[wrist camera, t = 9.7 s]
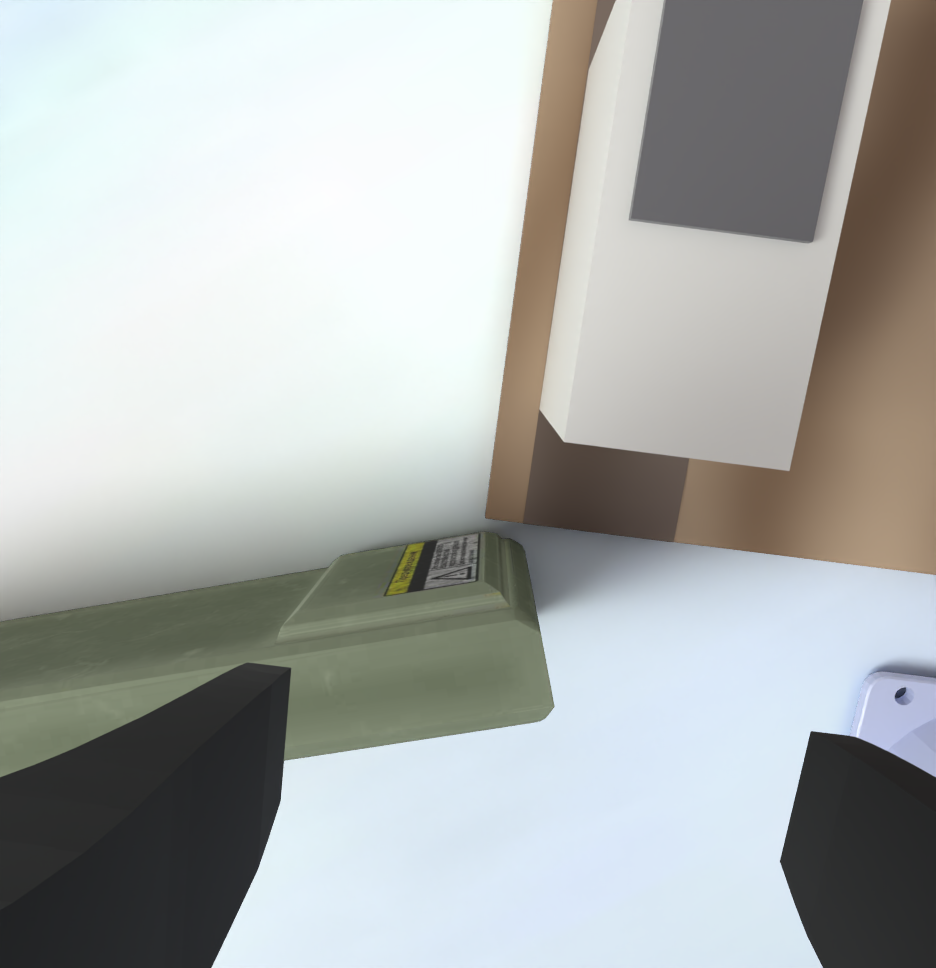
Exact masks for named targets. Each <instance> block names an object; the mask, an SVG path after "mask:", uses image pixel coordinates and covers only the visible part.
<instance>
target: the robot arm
mask: <svg viewBox="0 0 936 968" xmlns="http://www.w3.org/2000/svg"><path fill="white" fill-rule="evenodd" d="M290 678H291V668H290V667H281V666H273V665H265V664H257V663H249V662H247V663H245V664H242V665H240V666H237V667H235V668H233V669H231V670H229V671H227V672H225V673H223V674H221V675H219V676H218V677H216V678H214V679H212V680H210V681H208V682H206V683H205V684H203V685H201V686H199V687H197V688H195V689H193V690H192V691H190V692H188V693H186V694H184V695H182V696H180V697H178V698H176V699H175V700H173V701H171V702H169V703H167V704H165V705H163V706H161V707H159V708H157V709H156V710H154V711H152V712H150V713H148V714H146V715H144V716H142V717H140V718H138V719H136V720H133V721H131V722H129V723H127V724H125V725H123V726H121V727H119V728H116V729H114V730H112V731H110V732H108V733H106V734H104V735H102V736H99V737H97V738H95V739H93V740H91V741H89V742H87V743H84V744H82V745H80V746H78V747H76V748H74V749H71V750H69V751H67V752H64V753H62V754H59V755H57V756H55V757H52V758H50V759H47V760H45V761H42V762H40V763H37V764H35V765H32V766H29V767H27V768H24V769H21V770H18V771H16V772H13V773H10V774H8V775H5V776H2V777H0V968H211V967H212V965H213V963H214V961H215V959H216V957H217V955H218V953H219V951H220V949H221V946H222V944H223V942H224V940H225V938H226V936H227V934H228V932H229V930H230V928H231V926H232V923H233V921H234V919H235V917H236V915H237V913H238V911H239V909H240V906H241V904H242V902H243V900H244V898H245V896H246V894H247V892H248V889H249V887H250V885H251V883H252V881H253V879H254V876H255V874H256V872H257V870H258V867H259V864H260V861H261V859H262V856H263V853H264V850H265V847H266V844H267V841H268V838H269V835H270V832H271V829H272V826H273V823H274V820H275V816H276V813H277V810H278V807H279V804H280V801H281V789H282V777H283V764H284V752H285V740H286V727H287V715H288V703H289V691H290ZM905 687H906V692H905V693H904V695H903V696H901V697H900V698H895V694H896V692H897V690H899V689H901V688H905ZM780 863H781V865H782V868H783V871H784V874H785V877H786V880H787V883H788V886H789V889H790V892H791V894H792V897H793V900H794V903H795V906H796V908H797V911H798V913H799V916H800V918H801V921H802V924H803V926H804V929H805V931H806V934H807V936H808V938H809V940H810V942H811V944H812V946H813V948H814V950H815V952H816V954H817V956H818V958H819V960H820V962H821V964H822V966H823V968H936V678H932V677H924V676H916V675H908V674H900V673H892V672H875V673H873V674H871V675H869V676H868V677H867V678H866V679H865V680H864V682H863V684H862V687H861V691H860V695H859V699H858V703H857V707H856V711H855V716H854V720H853V724H852V728H851V732H850V736H845V735H837V734H829V733H821V732H813V731H811V733H810V737H809V741H808V746H807V750H806V754H805V758H804V763H803V767H802V771H801V775H800V779H799V784H798V788H797V792H796V796H795V801H794V805H793V809H792V813H791V817H790V822H789V826H788V830H787V834H786V838H785V843H784V847H783V851H782V855H781V860H780Z"/></svg>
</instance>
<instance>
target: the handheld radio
mask: <svg viewBox="0 0 936 968" xmlns="http://www.w3.org/2000/svg"><path fill="white" fill-rule="evenodd" d="M247 662H249V663H257V664H265V665H273V666H281V667H290V668H291V678H290V691H289V703H288V715H287V727H286V740H285V752H284V761H285V760H291V759H298V758H305V757H311V756H318V755H324V754H331V753H337V752H344V751H351V750H357V749H364V748H370V747H377V746H383V745H390V744H396V743H403V742H410V741H416V740H423V739H429V738H436V737H442V736H449V735H456V734H462V733H469V732H475V731H482V730H488V729H495V728H502V727H508V726H515V725H521V724H528V723H534V722H538V721H541V720H543V719H545V718H546V717H547V716H548V714H549V713H550V712H551V711H552V709H553V708H554V702H553V697H552V691H551V686H550V680H549V675H548V670H547V664H546V659H545V654H544V648H543V643H542V638H541V632H540V627H539V622H538V617H537V612H536V606H535V601H534V596H533V591H532V586H531V580H530V575H529V570H528V565H527V560H526V555H525V551H524V549H523V547H522V545H520V544H519V543H517V542H516V541H514V540H512V539H501V538H500V536H499V535H498V534H496V533H491V532H479V533H473V534H467V535H461V536H455V537H449V538H443V539H437V540H430V541H424V542H418V543H412V544H406V545H400V546H394V547H388V548H382V549H376V550H370V551H364V552H358V553H352V554H346V555H341V556H340V557H338V558H337V559H336V560H334V561H333V563H332V564H331V565H330V566H329V568H323V569H317V570H311V571H305V572H299V573H292V574H286V575H280V576H274V577H268V578H262V579H256V580H250V581H244V582H238V583H232V584H226V585H220V586H214V587H208V588H202V589H196V590H189V591H183V592H177V593H171V594H165V595H159V596H153V597H147V598H141V599H135V600H129V601H123V602H117V603H111V604H105V605H99V606H93V607H86V608H80V609H74V610H68V611H62V612H56V613H50V614H44V615H38V616H32V617H26V618H20V619H14V620H8V621H2V622H0V777H2V776H5V775H8V774H10V773H13V772H16V771H18V770H21V769H24V768H27V767H29V766H32V765H35V764H37V763H40V762H42V761H45V760H47V759H50V758H52V757H55V756H57V755H59V754H62V753H64V752H67V751H69V750H71V749H74V748H76V747H78V746H80V745H82V744H84V743H87V742H89V741H91V740H93V739H95V738H97V737H99V736H102V735H104V734H106V733H108V732H110V731H112V730H114V729H116V728H119V727H121V726H123V725H125V724H127V723H129V722H131V721H133V720H136V719H138V718H140V717H142V716H144V715H146V714H148V713H150V712H152V711H154V710H156V709H157V708H159V707H161V706H163V705H165V704H167V703H169V702H171V701H173V700H175V699H176V698H178V697H180V696H182V695H184V694H186V693H188V692H190V691H192V690H193V689H195V688H197V687H199V686H201V685H203V684H205V683H206V682H208V681H210V680H212V679H214V678H216V677H218V676H219V675H221V674H223V673H225V672H227V671H229V670H231V669H233V668H235V667H237V666H240V665H242V664H245V663H247Z"/></svg>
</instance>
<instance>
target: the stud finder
mask: <svg viewBox="0 0 936 968" xmlns="http://www.w3.org/2000/svg"><path fill="white" fill-rule="evenodd" d="M890 2H891V0H616V1H615V3H614V6H613V9H612V11H611V14H610V16H609V19H608V21H607V24H606V27H605V29H604V32H603V34H602V37H601V39H600V42H599V45H598V47H597V50H596V52H595V55H594V57H593V60H592V63H591V65H590V68H589V71H588V78H587V85H586V91H585V98H584V105H583V112H582V119H581V126H580V133H579V140H578V146H577V153H576V160H575V167H574V174H573V181H572V188H571V195H570V201H569V208H568V215H567V222H566V229H565V236H564V243H563V250H562V257H561V263H560V270H559V277H558V284H557V291H556V298H555V305H554V312H553V318H552V325H551V332H550V339H549V346H548V353H547V360H546V367H545V373H544V380H543V387H542V394H541V401H540V408H539V409H540V411H541V412H542V413H543V415H544V416H545V417H546V419H547V420H548V421H549V423H550V424H551V425H552V427H553V428H554V429H555V431H556V432H557V433H558V435H559V436H560V437H561V439H562V440H563V441H564V442H568V443H575V444H583V445H591V446H599V447H606V448H614V449H622V450H630V451H638V452H645V453H653V454H661V455H669V456H676V457H684V458H692V459H700V460H708V461H715V462H723V463H731V464H739V465H746V466H754V467H762V468H770V469H778V470H785V471H789V470H790V466H791V461H792V456H793V452H794V447H795V442H796V438H797V433H798V429H799V424H800V419H801V415H802V410H803V405H804V401H805V396H806V392H807V387H808V382H809V378H810V373H811V368H812V364H813V359H814V354H815V350H816V345H817V341H818V336H819V331H820V327H821V322H822V317H823V313H824V308H825V304H826V299H827V294H828V290H829V285H830V280H831V276H832V271H833V266H834V262H835V257H836V253H837V248H838V243H839V239H840V234H841V229H842V225H843V220H844V216H845V211H846V206H847V202H848V197H849V192H850V188H851V183H852V178H853V174H854V169H855V165H856V160H857V155H858V151H859V146H860V141H861V137H862V132H863V128H864V123H865V118H866V114H867V109H868V104H869V100H870V95H871V90H872V86H873V81H874V77H875V72H876V67H877V63H878V58H879V53H880V49H881V44H882V40H883V35H884V30H885V26H886V21H887V16H888V12H889V7H890Z"/></svg>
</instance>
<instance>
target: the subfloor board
mask: <svg viewBox="0 0 936 968" xmlns="http://www.w3.org/2000/svg"><path fill="white" fill-rule="evenodd" d="M615 1H616V0H553V3H552V11H551V18H550V26H549V34H548V41H547V49H546V56H545V64H544V72H543V79H542V87H541V94H540V102H539V110H538V117H537V125H536V132H535V140H534V148H533V155H532V163H531V170H530V178H529V185H528V193H527V201H526V208H525V216H524V223H523V231H522V239H521V246H520V254H519V261H518V269H517V277H516V284H515V292H514V299H513V307H512V314H511V322H510V330H509V337H508V345H507V352H506V360H505V368H504V375H503V383H502V390H501V398H500V406H499V413H498V421H497V428H496V436H495V443H494V451H493V459H492V466H491V474H490V481H489V489H488V497H487V504H486V512H485V518H487V519H494V520H502V521H510V522H518V523H523V524H531V525H539V526H547V527H555V528H563V529H571V530H579V531H587V532H595V533H603V534H611V535H619V536H627V537H635V538H643V539H651V540H659V541H667V542H678V543H686V544H694V545H702V546H710V547H718V548H726V549H734V550H742V551H750V552H758V553H766V554H774V555H781V556H789V557H797V558H805V559H813V560H821V561H829V562H837V563H845V564H853V565H861V566H869V567H877V568H885V569H893V570H901V571H909V572H917V573H925V574H933V575H936V0H891V2H890V7H889V12H888V16H887V21H886V26H885V30H884V35H883V40H882V44H881V49H880V53H879V58H878V63H877V67H876V72H875V77H874V81H873V86H872V90H871V95H870V100H869V104H868V109H867V114H866V118H865V123H864V128H863V132H862V137H861V141H860V146H859V151H858V155H857V160H856V165H855V169H854V174H853V178H852V183H851V188H850V192H849V197H848V202H847V206H846V211H845V216H844V220H843V225H842V229H841V234H840V239H839V243H838V248H837V253H836V257H835V262H834V266H833V271H832V276H831V280H830V285H829V290H828V294H827V299H826V304H825V308H824V313H823V317H822V322H821V327H820V331H819V336H818V341H817V345H816V350H815V354H814V359H813V364H812V368H811V373H810V378H809V382H808V387H807V392H806V396H805V401H804V405H803V410H802V415H801V419H800V424H799V429H798V433H797V438H796V442H795V447H794V452H793V456H792V461H791V466H790V470H789V471H785V470H778V469H770V468H762V467H754V466H746V465H739V464H731V463H723V462H715V461H708V460H700V459H692V458H684V457H676V456H669V455H661V454H653V453H645V452H638V451H630V450H622V449H614V448H606V447H599V446H591V445H583V444H575V443H568V442H564V441H563V440H562V439H561V437H560V436H559V435H558V433H557V432H556V431H555V429H554V428H553V427H552V425H551V424H550V423H549V421H548V420H547V419H546V417H545V416H544V415H543V413H542V412H541V411H540V409H539V408H540V401H541V394H542V387H543V380H544V373H545V367H546V360H547V353H548V346H549V339H550V332H551V325H552V318H553V312H554V305H555V298H556V291H557V284H558V277H559V270H560V263H561V257H562V250H563V243H564V236H565V229H566V222H567V215H568V208H569V201H570V195H571V188H572V181H573V174H574V167H575V160H576V153H577V146H578V140H579V133H580V126H581V119H582V112H583V105H584V98H585V91H586V85H587V78H588V71H589V68H590V65H591V63H592V60H593V57H594V55H595V52H596V50H597V47H598V45H599V42H600V39H601V37H602V34H603V32H604V29H605V27H606V24H607V21H608V19H609V16H610V14H611V11H612V9H613V6H614V3H615Z"/></svg>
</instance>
